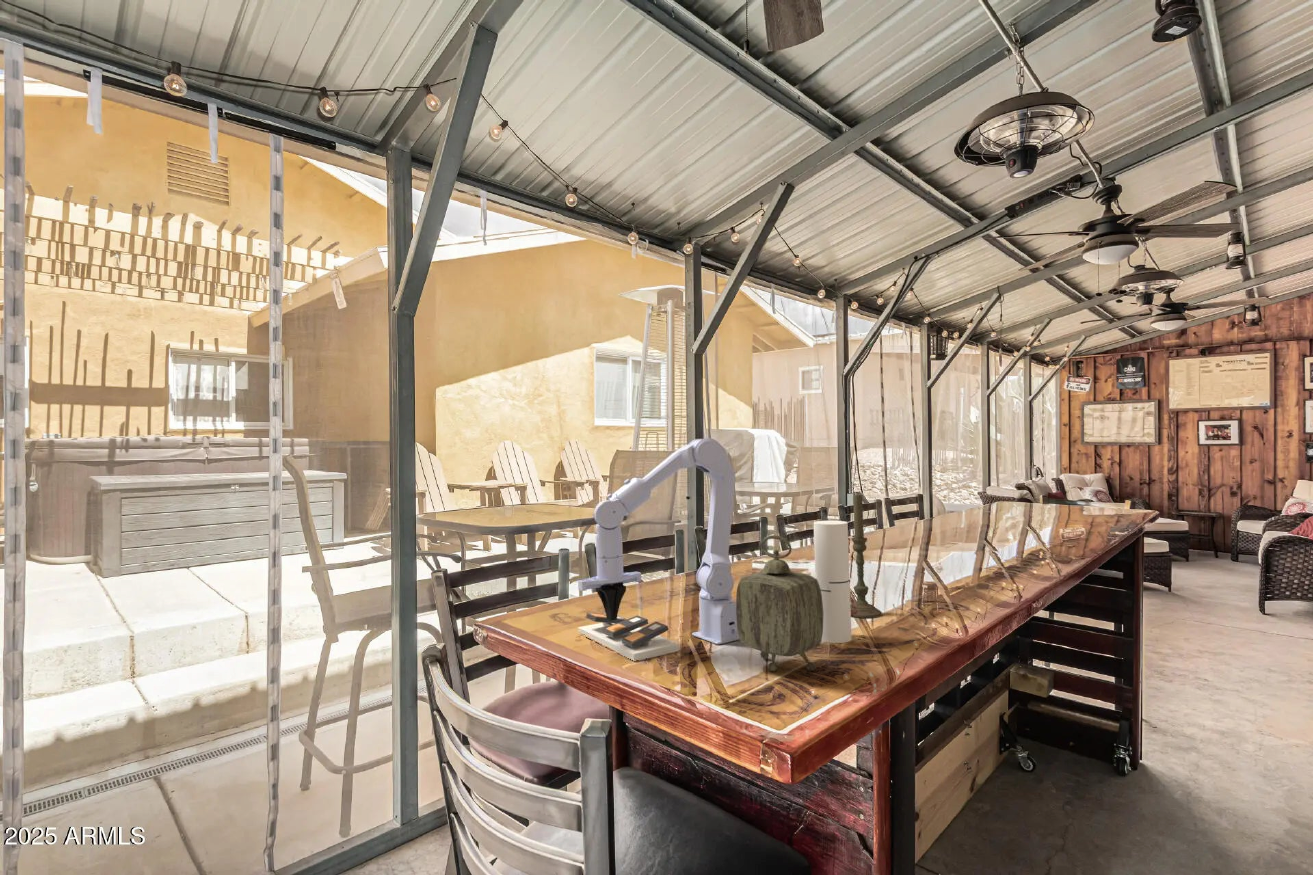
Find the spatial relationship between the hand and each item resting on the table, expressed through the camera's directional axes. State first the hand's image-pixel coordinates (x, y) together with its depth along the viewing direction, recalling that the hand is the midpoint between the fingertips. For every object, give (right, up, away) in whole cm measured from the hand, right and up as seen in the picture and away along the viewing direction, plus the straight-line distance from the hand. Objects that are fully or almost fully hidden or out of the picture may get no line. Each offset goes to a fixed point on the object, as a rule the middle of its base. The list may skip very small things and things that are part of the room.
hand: (611, 619), depth 142 cm
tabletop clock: (+33, -4, -18) cm, 38 cm away
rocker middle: (+3, -2, +2) cm, 4 cm away
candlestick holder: (+60, -4, +20) cm, 64 cm away
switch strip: (+3, -6, +2) cm, 7 cm away
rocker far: (-1, -2, +9) cm, 9 cm away
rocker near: (+7, -2, -5) cm, 9 cm away
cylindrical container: (+48, -4, 0) cm, 48 cm away
